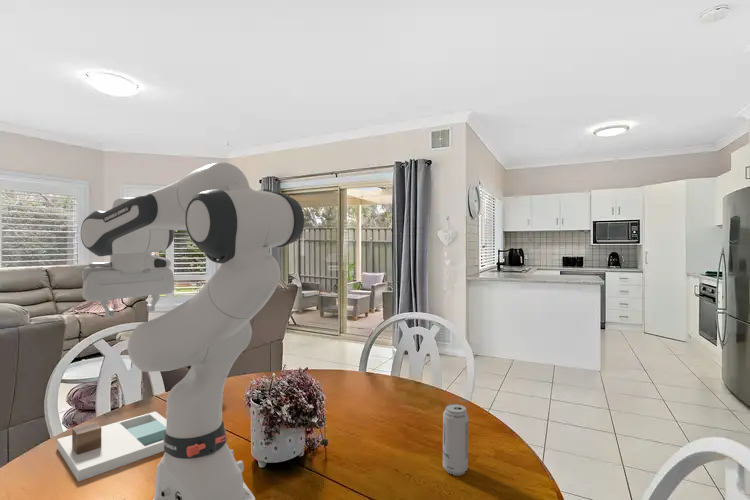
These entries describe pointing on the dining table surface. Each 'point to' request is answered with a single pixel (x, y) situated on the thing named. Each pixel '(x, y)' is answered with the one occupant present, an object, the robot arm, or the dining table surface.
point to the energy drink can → (455, 439)
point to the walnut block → (86, 438)
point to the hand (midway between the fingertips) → (130, 313)
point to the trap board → (117, 445)
